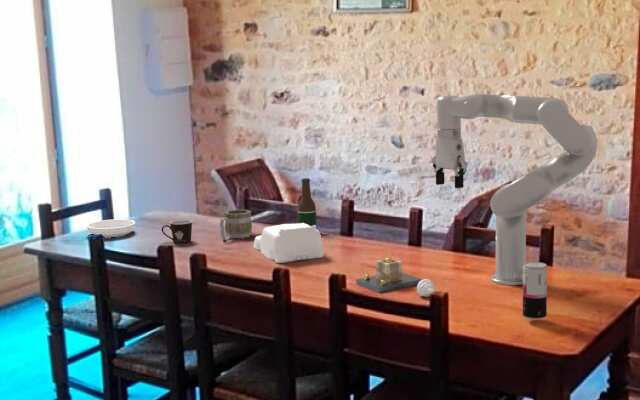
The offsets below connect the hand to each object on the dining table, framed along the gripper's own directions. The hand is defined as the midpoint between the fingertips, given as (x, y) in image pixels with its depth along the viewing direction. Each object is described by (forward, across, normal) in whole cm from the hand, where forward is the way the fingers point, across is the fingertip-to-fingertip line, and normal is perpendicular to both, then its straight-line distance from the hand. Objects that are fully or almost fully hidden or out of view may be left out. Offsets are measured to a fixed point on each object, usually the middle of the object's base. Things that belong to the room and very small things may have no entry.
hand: (449, 186), depth 297 cm
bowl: (+31, +130, +73) cm, 152 cm away
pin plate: (+30, +4, +22) cm, 38 cm away
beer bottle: (+31, +84, +6) cm, 90 cm away
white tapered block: (+31, +60, +28) cm, 74 cm away
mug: (+31, +94, +34) cm, 105 cm away
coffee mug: (+31, +101, +55) cm, 119 cm away
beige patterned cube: (+29, +4, +22) cm, 36 cm away
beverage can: (+31, -49, +10) cm, 59 cm away
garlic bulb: (+31, -16, +22) cm, 41 cm away
